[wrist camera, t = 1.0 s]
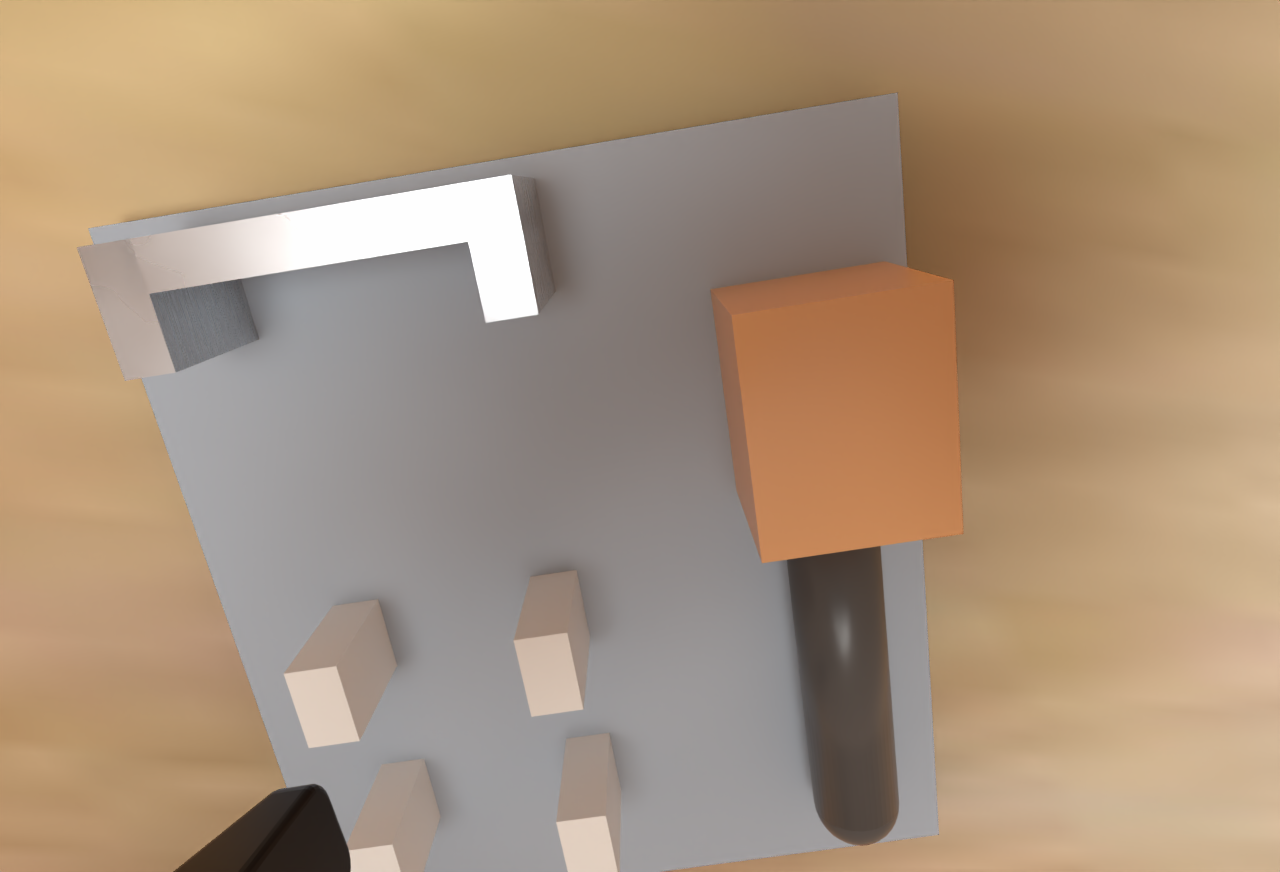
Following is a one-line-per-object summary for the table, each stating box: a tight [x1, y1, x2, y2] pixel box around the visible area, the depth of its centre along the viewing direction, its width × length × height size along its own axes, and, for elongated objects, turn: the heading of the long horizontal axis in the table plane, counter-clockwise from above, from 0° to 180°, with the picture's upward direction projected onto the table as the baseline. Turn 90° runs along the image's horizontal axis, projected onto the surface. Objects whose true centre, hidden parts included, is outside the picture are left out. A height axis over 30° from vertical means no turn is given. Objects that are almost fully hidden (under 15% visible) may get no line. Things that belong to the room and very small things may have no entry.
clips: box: [284, 570, 621, 872], centre depth 20 cm, size 7×6×3 cm
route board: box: [89, 93, 939, 872], centre depth 21 cm, size 20×18×1 cm
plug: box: [710, 261, 963, 846], centre depth 18 cm, size 15×4×4 cm, turn 9°
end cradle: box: [77, 175, 556, 381], centre depth 16 cm, size 2×8×4 cm, turn 99°
